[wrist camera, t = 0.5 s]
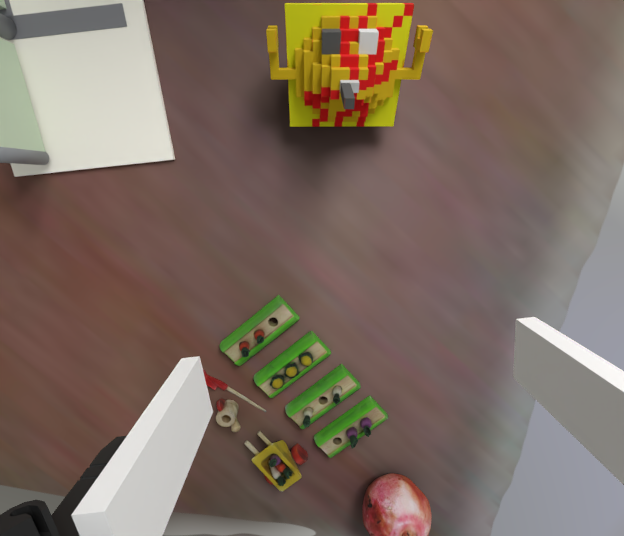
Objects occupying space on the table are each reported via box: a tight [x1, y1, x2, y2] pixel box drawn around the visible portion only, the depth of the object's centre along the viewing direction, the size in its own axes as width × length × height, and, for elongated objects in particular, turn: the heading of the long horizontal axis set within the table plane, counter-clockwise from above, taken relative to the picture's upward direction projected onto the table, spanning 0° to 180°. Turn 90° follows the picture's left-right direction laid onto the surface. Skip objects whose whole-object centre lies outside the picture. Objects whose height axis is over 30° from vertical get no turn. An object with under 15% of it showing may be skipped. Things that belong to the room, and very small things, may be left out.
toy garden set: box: [203, 295, 388, 491], centre depth 43 cm, size 23×19×5 cm
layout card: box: [0, 0, 175, 177], centre depth 34 cm, size 24×18×1 cm
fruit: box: [363, 473, 431, 536], centre depth 44 cm, size 9×10×10 cm
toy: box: [266, 3, 433, 127], centre depth 30 cm, size 14×10×15 cm
